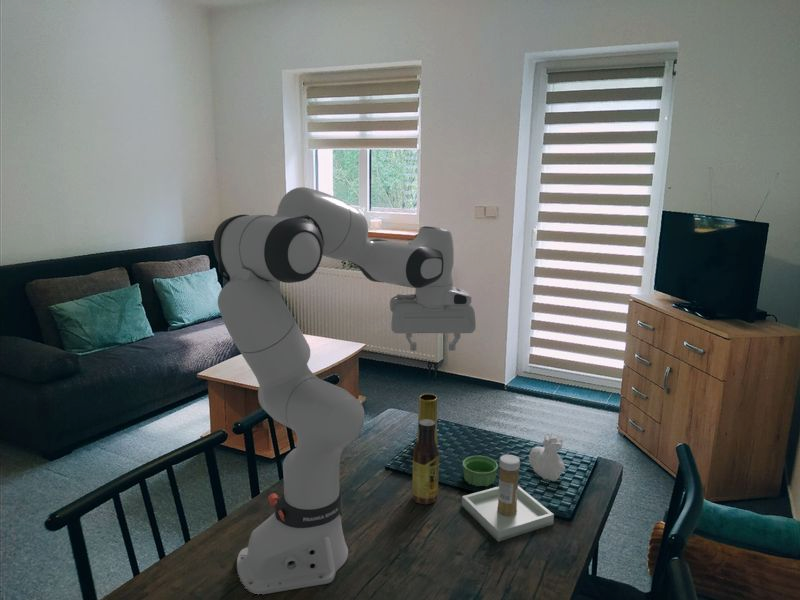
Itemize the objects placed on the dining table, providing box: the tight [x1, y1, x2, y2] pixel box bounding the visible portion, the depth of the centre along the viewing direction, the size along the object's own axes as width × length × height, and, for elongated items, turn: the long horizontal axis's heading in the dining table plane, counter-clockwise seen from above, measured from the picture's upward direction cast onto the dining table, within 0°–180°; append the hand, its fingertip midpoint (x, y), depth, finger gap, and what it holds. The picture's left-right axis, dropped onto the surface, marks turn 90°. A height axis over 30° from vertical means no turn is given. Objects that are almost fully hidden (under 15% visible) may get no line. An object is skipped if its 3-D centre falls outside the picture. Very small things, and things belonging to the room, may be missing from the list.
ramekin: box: [462, 455, 499, 487], centre depth 153 cm, size 9×9×4 cm
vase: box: [416, 393, 439, 445], centre depth 171 cm, size 6×6×14 cm
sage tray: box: [461, 485, 555, 542], centre depth 138 cm, size 15×15×2 cm
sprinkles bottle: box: [497, 454, 521, 516], centre depth 137 cm, size 5×5×14 cm
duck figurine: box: [528, 434, 566, 482], centre depth 156 cm, size 12×8×11 cm
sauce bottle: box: [411, 419, 440, 505], centre depth 143 cm, size 7×6×20 cm
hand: (432, 349), depth 145 cm, fingers open, 8 cm apart
